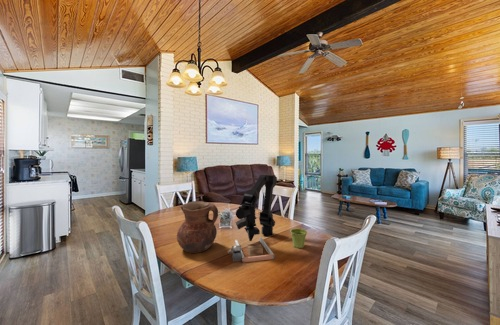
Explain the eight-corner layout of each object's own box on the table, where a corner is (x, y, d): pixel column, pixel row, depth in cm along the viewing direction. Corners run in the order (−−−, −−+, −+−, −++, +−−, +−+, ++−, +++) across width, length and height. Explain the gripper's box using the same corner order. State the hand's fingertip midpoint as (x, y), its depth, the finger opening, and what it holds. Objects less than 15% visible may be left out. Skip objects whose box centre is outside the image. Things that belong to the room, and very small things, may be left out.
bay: (261, 240, 132) (261, 237, 132) (274, 258, 110) (274, 254, 110) (235, 243, 129) (235, 239, 128) (242, 262, 106) (242, 258, 106)
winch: (240, 256, 112) (240, 243, 112) (242, 262, 107) (242, 248, 106) (226, 258, 110) (226, 245, 110) (228, 263, 105) (228, 250, 105)
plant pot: (297, 251, 119) (297, 235, 118) (286, 244, 127) (287, 230, 127) (310, 247, 123) (310, 232, 123) (299, 241, 131) (299, 227, 131)
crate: (259, 250, 119) (259, 242, 119) (262, 255, 113) (262, 247, 113) (247, 251, 117) (247, 244, 117) (249, 257, 112) (249, 248, 111)
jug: (178, 260, 109) (178, 210, 107) (175, 243, 128) (174, 201, 127) (221, 251, 117) (221, 206, 116) (212, 237, 137) (212, 198, 135)
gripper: (233, 211, 132) (234, 236, 133) (239, 220, 114) (239, 249, 115) (251, 210, 135) (251, 234, 136) (260, 219, 117) (259, 247, 117)
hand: (250, 241), depth 126 cm, fingers closed
